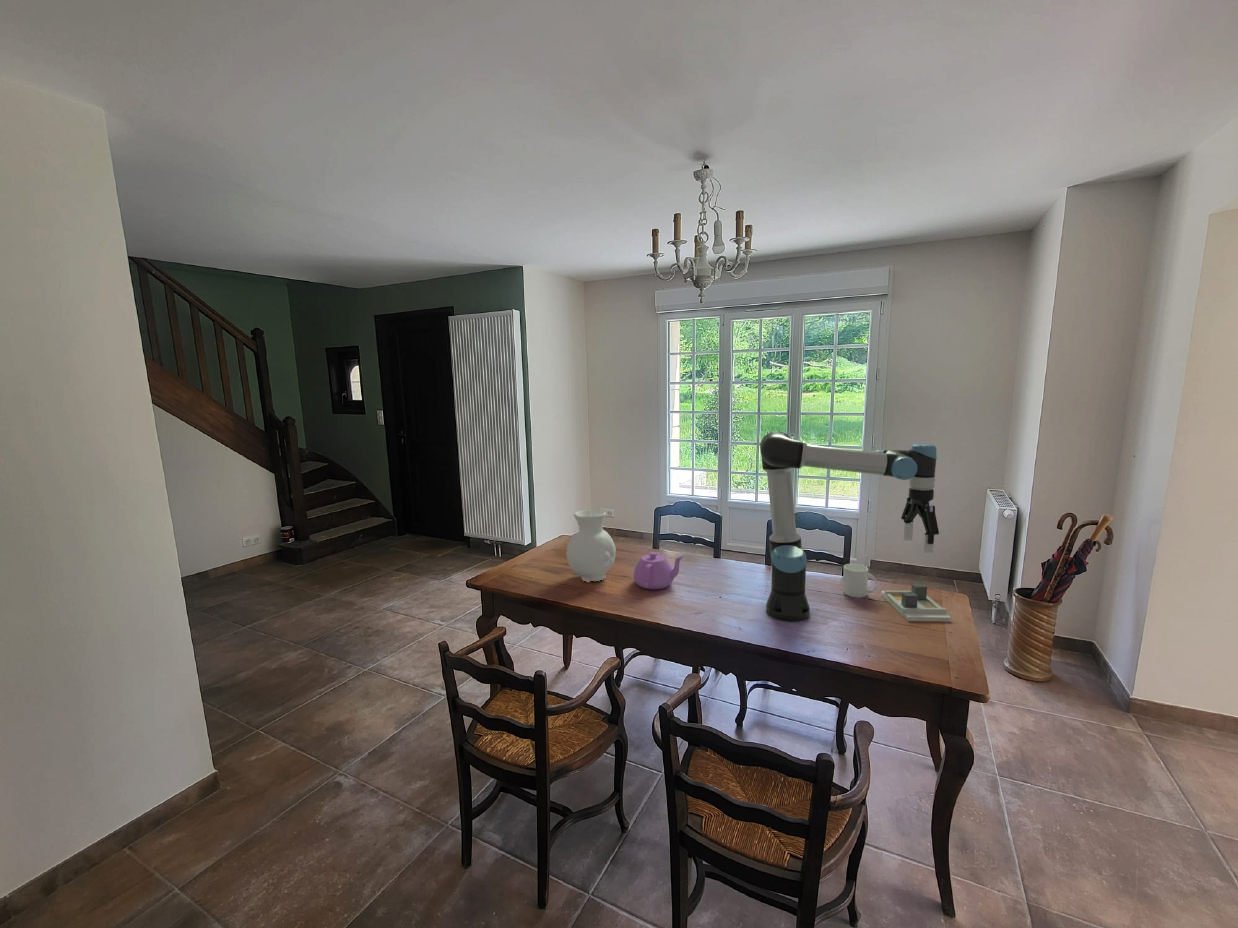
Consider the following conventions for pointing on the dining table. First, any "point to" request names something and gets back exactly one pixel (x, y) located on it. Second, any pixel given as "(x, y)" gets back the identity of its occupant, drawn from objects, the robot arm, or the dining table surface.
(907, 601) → the tab
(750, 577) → the dining table surface
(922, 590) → the tab
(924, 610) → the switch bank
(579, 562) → the vase
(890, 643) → the dining table surface
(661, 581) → the teapot
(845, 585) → the mug
